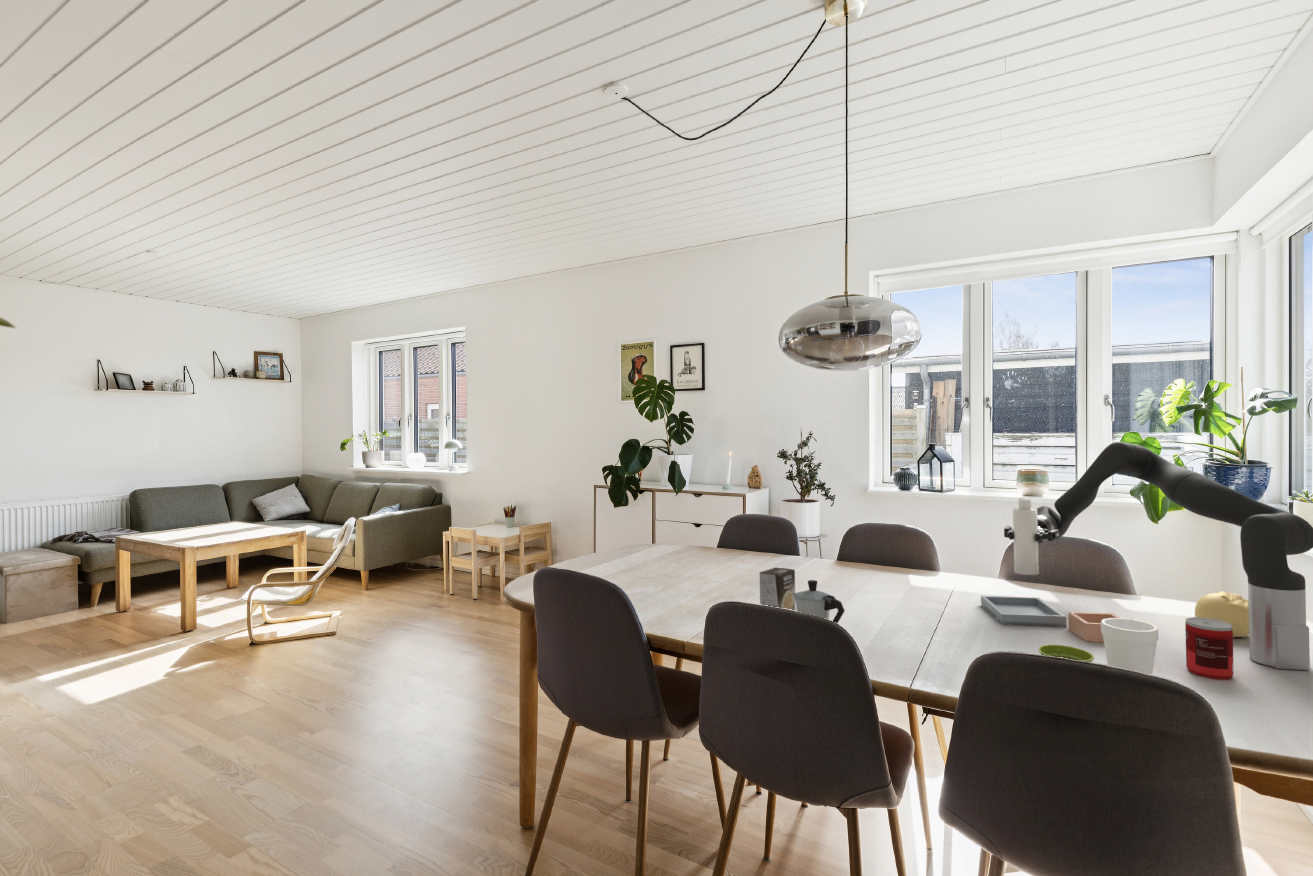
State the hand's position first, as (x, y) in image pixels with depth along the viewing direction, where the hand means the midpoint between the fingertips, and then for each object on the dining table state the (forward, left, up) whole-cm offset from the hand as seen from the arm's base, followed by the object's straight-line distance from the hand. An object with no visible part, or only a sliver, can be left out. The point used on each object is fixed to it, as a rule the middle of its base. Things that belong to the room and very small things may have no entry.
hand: (1023, 536), depth 178 cm
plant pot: (-54, +10, -23) cm, 60 cm away
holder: (-13, -13, -23) cm, 30 cm away
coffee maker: (-38, +58, -23) cm, 73 cm away
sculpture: (-7, -44, -23) cm, 51 cm away
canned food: (-37, -24, -23) cm, 50 cm away
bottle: (+2, -1, -10) cm, 11 cm away
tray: (+4, 0, -23) cm, 24 cm away
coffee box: (-18, +68, -23) cm, 74 cm away
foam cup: (-48, -4, -23) cm, 54 cm away
